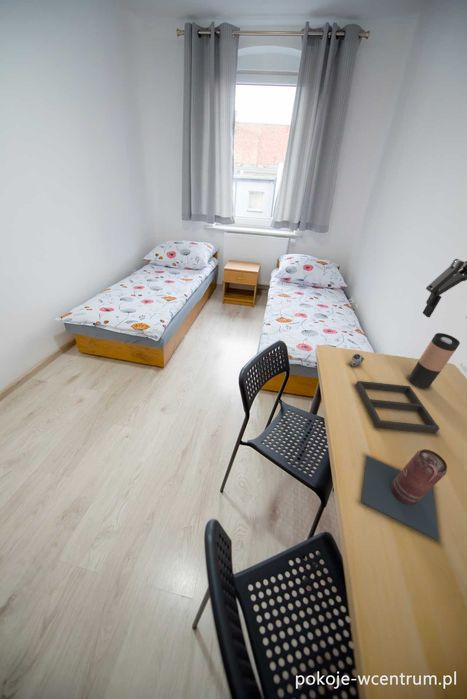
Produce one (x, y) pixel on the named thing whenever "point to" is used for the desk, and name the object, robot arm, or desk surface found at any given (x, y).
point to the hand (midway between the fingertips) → (448, 317)
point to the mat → (385, 501)
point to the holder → (414, 406)
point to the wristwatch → (356, 360)
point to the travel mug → (433, 360)
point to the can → (418, 476)
